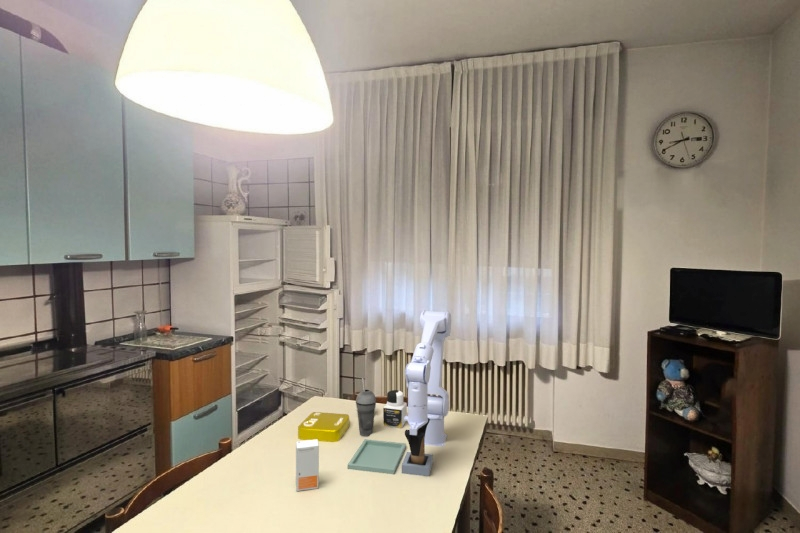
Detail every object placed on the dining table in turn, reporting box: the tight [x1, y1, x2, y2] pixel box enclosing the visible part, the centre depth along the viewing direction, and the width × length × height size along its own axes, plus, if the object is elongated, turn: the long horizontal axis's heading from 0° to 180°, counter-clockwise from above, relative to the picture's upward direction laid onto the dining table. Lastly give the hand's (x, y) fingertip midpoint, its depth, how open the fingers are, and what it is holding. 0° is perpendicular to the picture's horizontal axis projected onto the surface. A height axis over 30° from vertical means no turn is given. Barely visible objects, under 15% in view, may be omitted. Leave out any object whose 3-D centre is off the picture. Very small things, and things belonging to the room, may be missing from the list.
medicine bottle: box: [382, 389, 408, 429], centre depth 156 cm, size 7×7×12 cm
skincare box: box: [295, 439, 320, 492], centre depth 114 cm, size 6×4×12 cm
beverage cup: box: [355, 377, 377, 437], centre depth 147 cm, size 7×7×20 cm
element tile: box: [297, 411, 350, 443], centre depth 149 cm, size 15×15×5 cm
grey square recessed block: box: [401, 451, 434, 477], centre depth 123 cm, size 8×8×3 cm
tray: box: [347, 439, 407, 475], centre depth 129 cm, size 17×14×2 cm
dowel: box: [411, 437, 426, 465], centre depth 123 cm, size 4×4×9 cm
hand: (417, 449), depth 123 cm, fingers open, 7 cm apart
